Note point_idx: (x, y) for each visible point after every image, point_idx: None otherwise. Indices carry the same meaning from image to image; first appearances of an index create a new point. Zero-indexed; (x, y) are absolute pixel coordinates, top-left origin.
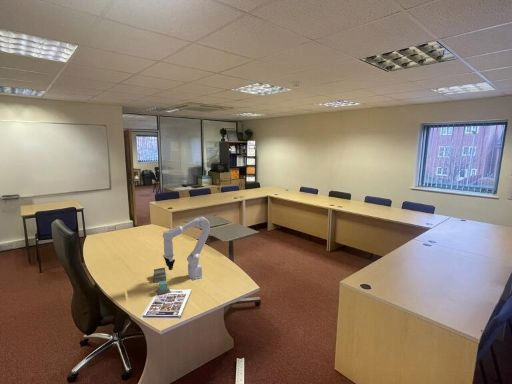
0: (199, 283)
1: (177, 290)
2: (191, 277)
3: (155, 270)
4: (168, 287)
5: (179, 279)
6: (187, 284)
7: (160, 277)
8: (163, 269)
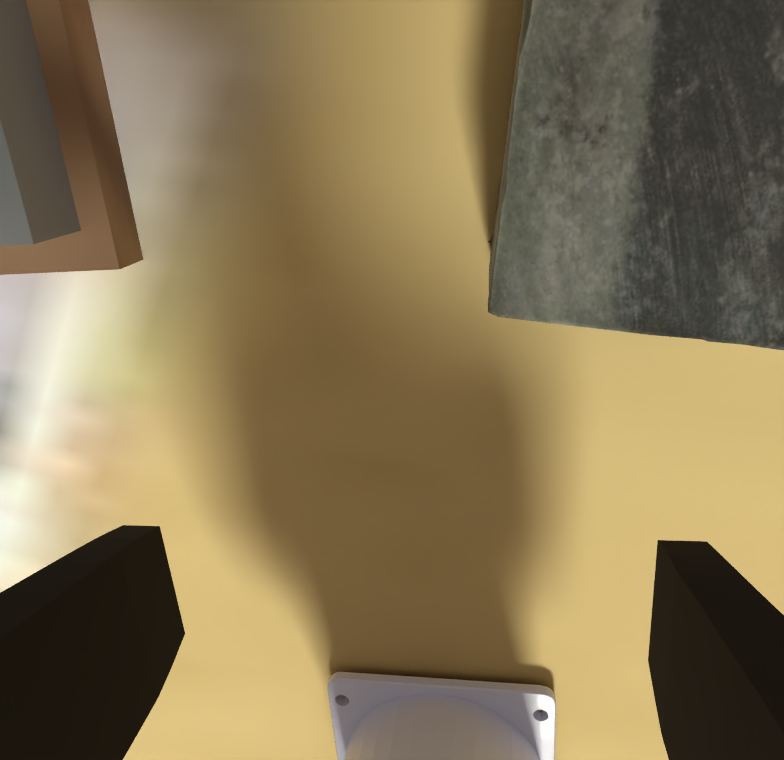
0: (178, 746)
1: (33, 405)
2: (355, 743)
3: None
4: (99, 268)
5: (486, 543)
6: (208, 601)
7: (513, 132)
8: None
